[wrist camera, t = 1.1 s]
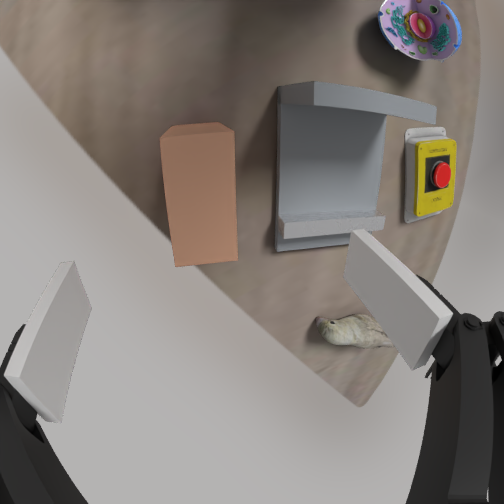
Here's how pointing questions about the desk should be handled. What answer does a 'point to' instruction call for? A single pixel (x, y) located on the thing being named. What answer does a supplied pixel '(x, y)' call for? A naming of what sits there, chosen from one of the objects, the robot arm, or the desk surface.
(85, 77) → the desk surface
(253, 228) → the desk surface
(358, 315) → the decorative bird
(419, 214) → the emergency button
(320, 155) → the gray bracket stand
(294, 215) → the strip
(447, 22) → the cell model
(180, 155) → the cabinet block
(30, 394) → the robot arm
